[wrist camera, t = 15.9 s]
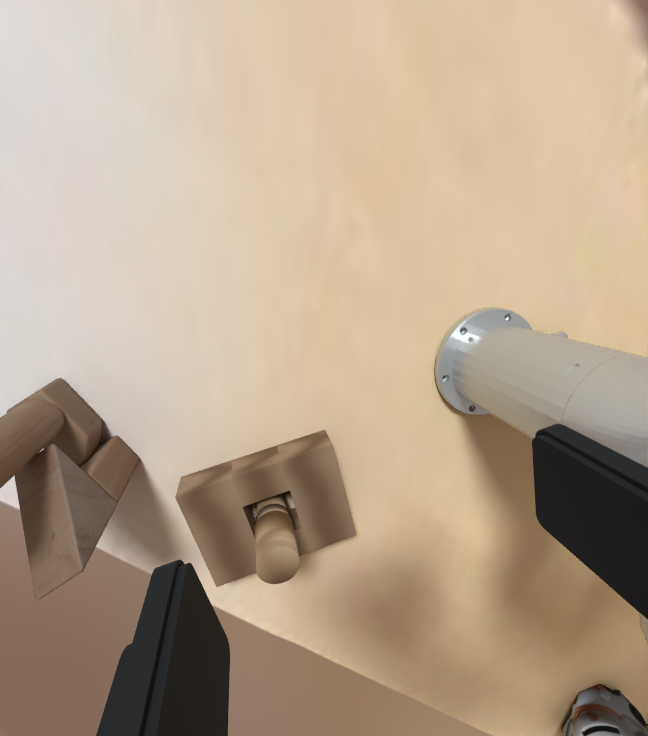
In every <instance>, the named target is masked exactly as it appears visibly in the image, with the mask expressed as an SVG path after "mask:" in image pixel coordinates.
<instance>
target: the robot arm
mask: <svg viewBox="0 0 648 736" xmlns="http://www.w3.org/2000/svg"><path fill="white" fill-rule="evenodd" d="M435 377H436V383H437V386H438V389H439V391H440V393H441V395H442V396H443V398H444V399H445V400H446V401H447V402H448V403H449V404H450V405H452V406H453V407H454V408H456V409H457V410H459V411H461V412H463V413H466V414H470V415H484V414H491V415H493V416H495V417H496V418H498V419H500V420H501V421H503V422H505V423H506V424H508V425H509V426H511V427H513V428H514V429H516V430H518V431H519V432H521V433H523V434H524V435H526V436H528V437H529V438H531V439H532V448H533V466H534V484H535V503H536V516H537V519H538V521H539V523H540V524H541V525H542V527H543V528H544V529H545V530H546V531H548V532H549V533H550V534H551V535H552V536H553V537H554V538H555V539H557V540H558V541H559V542H560V543H561V544H562V545H563V546H565V547H566V548H567V549H568V550H569V551H570V552H571V553H573V554H574V555H575V556H576V557H577V558H578V559H579V560H580V561H582V562H583V563H584V564H585V565H586V566H587V567H588V568H590V569H591V570H592V571H593V572H594V573H595V574H596V575H598V576H599V577H600V578H601V579H602V580H603V581H604V582H605V583H607V584H608V585H609V586H610V587H611V588H612V589H613V590H615V591H616V592H617V593H618V594H619V595H620V596H621V597H622V598H624V599H625V600H626V601H627V602H628V603H629V604H630V605H632V606H633V607H634V608H635V609H636V610H637V611H638V612H639V616H640V624H641V629H642V632H643V634H644V637H645V639H646V642H647V644H648V357H644V356H640V355H636V354H631V353H627V352H623V351H619V350H614V349H610V348H606V347H602V346H597V345H593V344H589V343H585V342H580V341H576V340H572V339H568V336H567V334H566V333H565V332H563V331H560V332H557V333H554V334H551V335H550V334H546V333H542V332H538V331H533V330H532V328H531V327H530V325H529V324H528V322H527V321H526V320H525V319H524V318H523V317H522V316H520V315H519V314H517V313H515V312H513V311H510V310H506V309H501V308H484V309H481V310H478V311H474V312H472V313H471V314H469V315H467V316H465V317H464V318H462V319H461V320H460V321H458V322H457V323H456V324H455V325H454V326H453V327H452V328H451V330H450V331H449V332H448V334H447V335H446V337H445V338H444V340H443V341H442V344H441V346H440V348H439V350H438V354H437V358H436V363H435ZM229 670H230V649H229V643H228V639H227V636H226V634H225V632H224V630H223V628H222V626H221V624H220V622H219V620H218V617H217V615H216V613H215V611H214V609H213V607H212V605H211V603H210V601H209V599H208V597H207V595H206V592H205V590H204V588H203V586H202V584H201V582H200V580H199V578H198V576H197V574H196V572H195V570H194V567H193V566H192V564H191V563H188V564H184V563H183V561H182V560H177V561H174V562H171V563H168V564H166V565H163V566H160V567H157V568H155V569H154V571H153V573H152V576H151V580H150V583H149V587H148V590H147V594H146V597H145V601H144V604H143V608H142V611H141V615H140V618H139V622H138V625H137V629H136V632H135V636H134V639H133V642H132V644H130V645H128V646H127V647H126V648H125V649H124V651H123V653H122V655H121V658H120V660H119V663H118V666H117V670H116V673H115V676H114V679H113V683H112V686H111V689H110V693H109V696H108V699H107V702H106V706H105V709H104V712H103V715H102V719H101V722H100V725H99V728H98V732H97V735H96V736H228V703H229Z"/></svg>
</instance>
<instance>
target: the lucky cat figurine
mask: <svg viewBox="0 0 648 736" xmlns="http://www.w3.org/2000/svg"><path fill="white" fill-rule="evenodd" d="M562 733H563V735H564V736H648V728H647V725H646V723H645V721H644V719H643V717H642V716H641V714H640V713H639V711H638V710H637V709H636V708H635V707H634V706H633V705H632V704H631V703H630V701H629V700H628V699H627V698H626V697H625V696H624V695H623V694H622V693H621V692H620V691H619V690H613V691H612V690H611V689H609V688H607V687H605V686H604V685H601V684H599V685H597V686H594V687H592V688H589V689H586V690H584V691H582V692H580V693H579V694H578V699H577V702H576V704H574V705H573V709H572V714H571V715H570V717H569V719H568V720H567V722H566V724H565V726H564V728H563V729H562Z"/></svg>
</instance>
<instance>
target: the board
mask: <svg viewBox="0 0 648 736" xmlns="http://www.w3.org/2000/svg"><path fill="white" fill-rule="evenodd" d="M289 490H290V493H291V496H292V499H293V502H294V505H295V508H293V509H290V510H288V512H289V516H290V518H291V519H292V523H293V528H294V533H295V539H296V544H297V549H298V554H299V556H301V555H304V554H306V553H309V552H312V551H314V550H317V549H320V548H322V547H325V546H328V545H330V544H333V543H336V542H338V541H341V540H344V539H346V538H349V537H352V536H354V535H356V531H355V527H354V523H353V520H352V516H351V512H350V509H349V505H348V501H347V497H346V494H345V490H344V486H343V483H342V479H341V475H340V471H339V468H338V464H337V460H336V456H335V453H334V449H333V445H332V443H331V441H330V439H329V437H328V435H327V433H326V431H325V430H323V431H320V432H317V433H314V434H311V435H308V436H305V437H301V438H298V439H295V440H292V441H289V442H286V443H283V444H280V445H277V446H274V447H271V448H268V449H265V450H262V451H259V452H256V453H253V454H250V455H247V456H244V457H241V458H238V459H235V460H232V461H229V462H226V463H223V464H220V465H217V466H214V467H211V468H208V469H205V470H202V471H199V472H195V473H192V474H189V475H186V476H183V477H181V480H180V483H179V487H178V490H177V494H176V497H175V498H176V500H177V502H178V504H179V507H180V509H181V511H182V513H183V515H184V517H185V519H186V522H187V524H188V526H189V528H190V530H191V532H192V535H193V537H194V539H195V541H196V543H197V545H198V548H199V550H200V552H201V554H202V556H203V558H204V561H205V563H206V565H207V567H208V569H209V571H210V574H211V576H212V578H213V580H214V582H215V584H216V586H217V587H218V586H221V585H224V584H226V583H229V582H232V581H234V580H237V579H240V578H242V577H245V576H248V575H250V574H253V573H256V572H257V571H256V549H255V524H256V521H255V518H254V516H253V513H252V511H251V508H250V505H249V504H252V503H255V502H258V501H261V500H264V499H267V498H269V497H272V496H275V495H278V494H281V493H284V492H287V491H289Z"/></svg>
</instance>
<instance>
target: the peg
mask: <svg viewBox="0 0 648 736" xmlns="http://www.w3.org/2000/svg"><path fill="white" fill-rule="evenodd" d="M256 507H257V517H256V524H255V549H256V571H257V575H258V576H259V578H260V579H261V580H263V581H264V582H266V583H270V584H279V583H283V582H286V581H288V580H289V579H291V578H292V577H293V576H294V575H295V574H296V573H297V571H298V569H299V566H300V560H299V554H298V549H297V544H296V539H295V533H294V528H293V523H292V519H291V518H290V516H289V512H288V510H287V506H286V501H285V495H284V493H281V494H278V495H275V496H272V497H269V498H267V499H264V500H261V501H258V502H256Z"/></svg>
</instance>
